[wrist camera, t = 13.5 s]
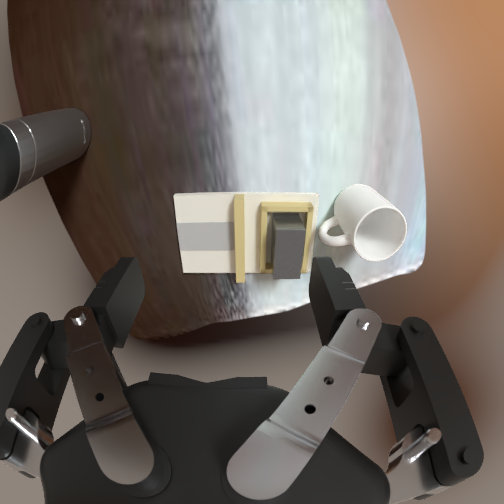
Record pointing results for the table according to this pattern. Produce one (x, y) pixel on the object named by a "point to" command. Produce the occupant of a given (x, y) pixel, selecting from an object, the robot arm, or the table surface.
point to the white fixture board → (238, 229)
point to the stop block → (287, 245)
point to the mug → (366, 223)
